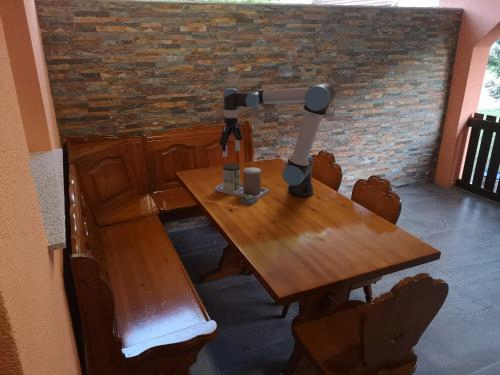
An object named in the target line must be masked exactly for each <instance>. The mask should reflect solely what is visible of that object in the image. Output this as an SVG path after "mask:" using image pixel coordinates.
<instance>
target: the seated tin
mask: <svg viewBox="0 0 500 375" xmlns="http://www.w3.org/2000/svg"><path fill="white" fill-rule="evenodd" d="M242 174H243V175H242V176H243V178H242V184H243V194H247V195H252V196H258V195H259V194H260V189H261V188H262V187H261V184H262V182H261V179H262V170H261V168H258V167H253V166H251V167H246V168H243V170H242Z"/></svg>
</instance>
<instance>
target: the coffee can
mask: <svg viewBox="0 0 500 375" xmlns="http://www.w3.org/2000/svg"><path fill="white" fill-rule="evenodd" d="M240 169H241V166H240V165H239V164H237V163H228V164H227V163H226V164H223V165H222V183H223V189H224V190H229V191H233V192H235V191H237V190H239V189H240V183H241V175H240V174H241V173H240V172H241V170H240Z"/></svg>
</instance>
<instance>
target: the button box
mask: <svg viewBox="0 0 500 375" xmlns="http://www.w3.org/2000/svg"><path fill="white" fill-rule="evenodd" d="M258 200H259V199H258V198H257V197H253V199H252V200H251V201H249V200H245V197H241V198H239V202H240V204H244V205H247V206H253V205H254V204H255V203H257V202H258Z"/></svg>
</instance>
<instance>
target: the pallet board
mask: <svg viewBox="0 0 500 375" xmlns="http://www.w3.org/2000/svg"><path fill="white" fill-rule="evenodd" d="M213 192H214V193H215V192H221V193H223V194H227V195H232V196H233V195H234V196H237V197H241V198H243V197H245V195H247V194H243V182H242V183H241V182H240V189H239V190H237V191H235V192H233V191H229V190H224V189H223V182H222V183H221V184H219V185H217V186H215V187H213ZM268 193H270V188H265V187H261V189H260V194H259V195H258V196H253V197H257V198H258V200H259V199H261V198H262V197H264V196H265V195H267V194H268Z"/></svg>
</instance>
